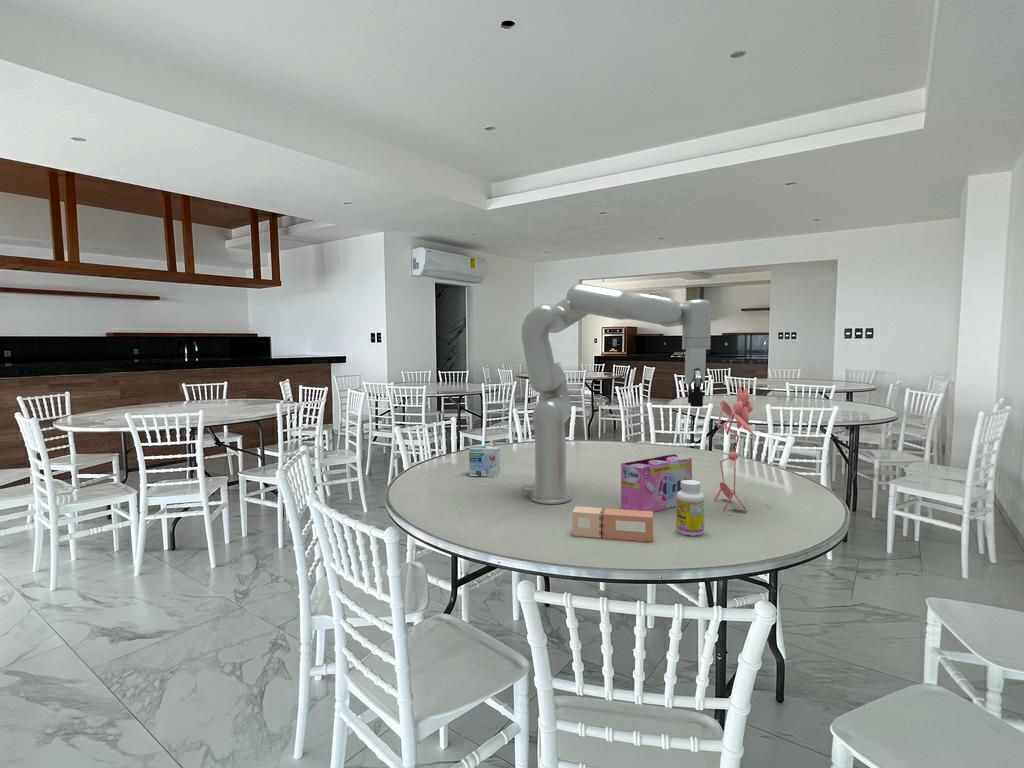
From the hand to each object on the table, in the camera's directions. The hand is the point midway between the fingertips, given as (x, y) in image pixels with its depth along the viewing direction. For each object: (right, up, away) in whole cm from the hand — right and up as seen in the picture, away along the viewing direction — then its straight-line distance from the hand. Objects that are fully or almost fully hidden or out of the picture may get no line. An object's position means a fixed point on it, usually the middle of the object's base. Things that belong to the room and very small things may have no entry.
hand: (695, 404), depth 153 cm
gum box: (-9, -30, +6) cm, 32 cm away
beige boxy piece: (-33, -32, -17) cm, 49 cm away
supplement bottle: (-7, -32, -17) cm, 37 cm away
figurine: (+16, -30, +5) cm, 34 cm away
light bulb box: (-62, -28, +48) cm, 83 cm away
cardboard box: (-23, -32, -20) cm, 44 cm away
